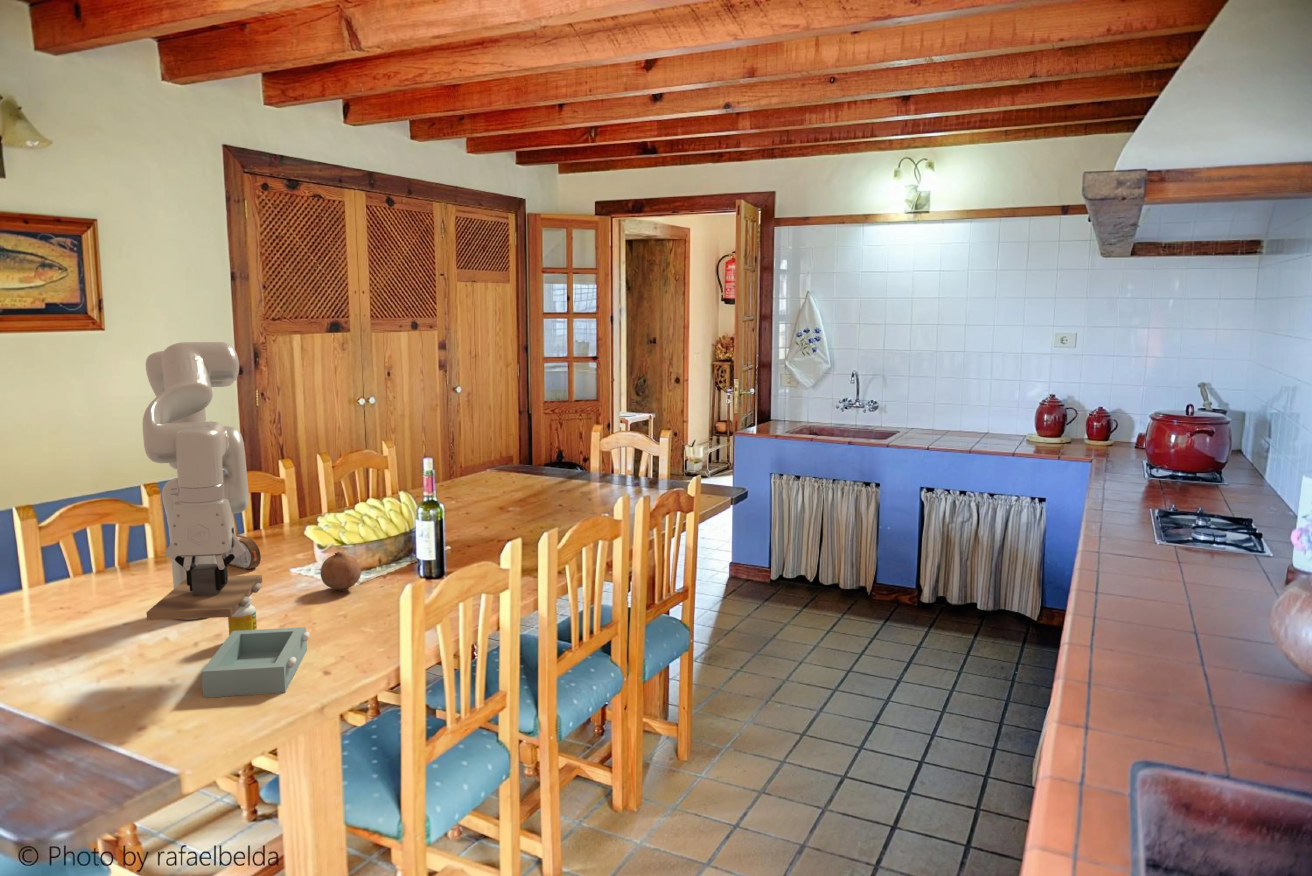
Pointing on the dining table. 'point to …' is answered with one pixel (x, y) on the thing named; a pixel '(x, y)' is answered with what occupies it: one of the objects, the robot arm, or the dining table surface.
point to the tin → (247, 554)
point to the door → (205, 596)
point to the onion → (340, 572)
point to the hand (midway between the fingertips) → (207, 587)
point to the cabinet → (255, 662)
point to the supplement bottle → (243, 618)
